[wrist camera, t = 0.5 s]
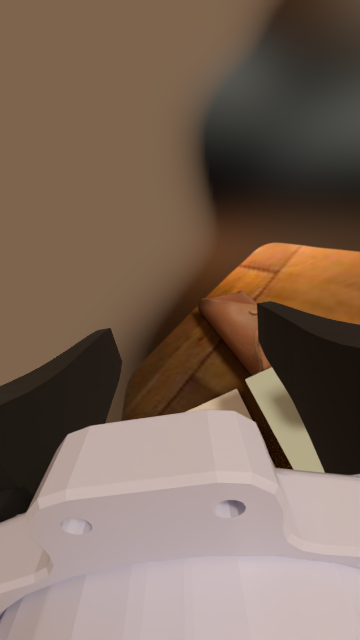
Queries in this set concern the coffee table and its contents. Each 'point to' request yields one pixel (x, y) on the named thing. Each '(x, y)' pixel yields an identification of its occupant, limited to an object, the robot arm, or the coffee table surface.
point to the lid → (284, 420)
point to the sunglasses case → (237, 327)
